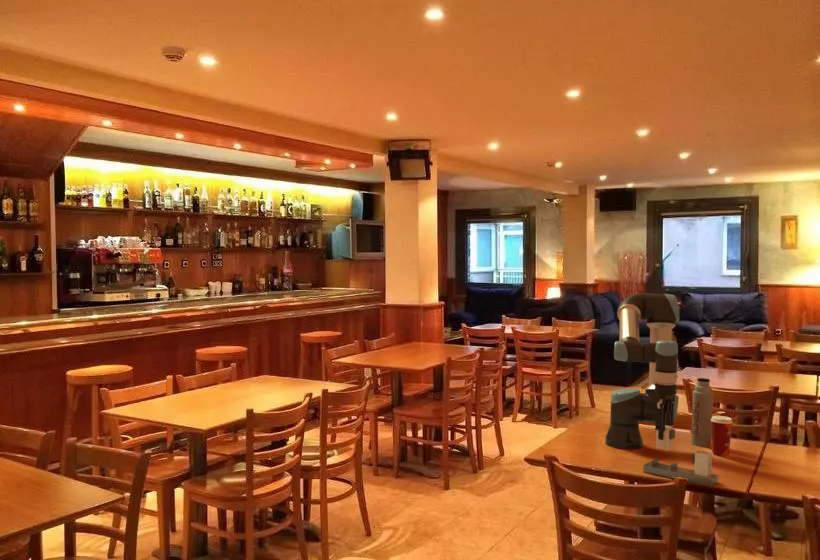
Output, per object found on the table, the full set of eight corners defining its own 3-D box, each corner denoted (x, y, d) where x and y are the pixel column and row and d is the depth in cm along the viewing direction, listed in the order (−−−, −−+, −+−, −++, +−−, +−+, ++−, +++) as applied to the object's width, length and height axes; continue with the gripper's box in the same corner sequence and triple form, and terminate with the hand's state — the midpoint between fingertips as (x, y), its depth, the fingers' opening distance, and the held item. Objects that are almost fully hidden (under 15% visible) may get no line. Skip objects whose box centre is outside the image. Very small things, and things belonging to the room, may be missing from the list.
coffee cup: (734, 458, 276) (735, 420, 276) (711, 456, 278) (713, 419, 277) (728, 452, 285) (730, 415, 284) (707, 450, 286) (708, 414, 286)
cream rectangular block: (656, 447, 255) (656, 426, 254) (660, 445, 258) (660, 424, 257) (671, 450, 251) (671, 428, 251) (675, 448, 254) (675, 426, 254)
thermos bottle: (697, 446, 292) (699, 380, 291) (687, 441, 300) (689, 377, 299) (715, 446, 293) (717, 380, 292) (705, 441, 301) (707, 377, 300)
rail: (643, 472, 256) (644, 443, 256) (650, 467, 262) (651, 440, 261) (711, 486, 241) (712, 456, 241) (717, 482, 246) (718, 452, 246)
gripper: (667, 387, 245) (665, 453, 246) (684, 381, 258) (682, 444, 259) (646, 384, 250) (644, 449, 251) (664, 379, 263) (662, 440, 264)
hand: (663, 446), depth 255 cm, fingers closed on cream rectangular block, 4 cm apart
